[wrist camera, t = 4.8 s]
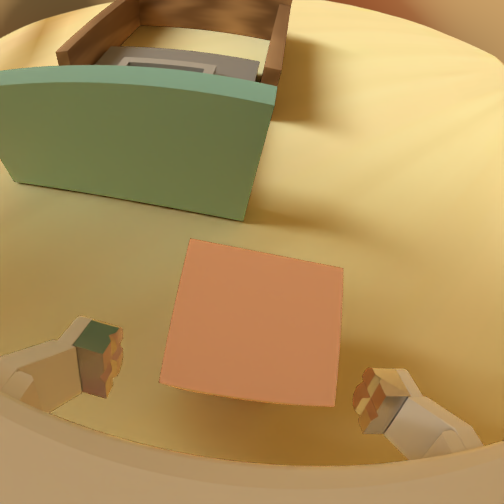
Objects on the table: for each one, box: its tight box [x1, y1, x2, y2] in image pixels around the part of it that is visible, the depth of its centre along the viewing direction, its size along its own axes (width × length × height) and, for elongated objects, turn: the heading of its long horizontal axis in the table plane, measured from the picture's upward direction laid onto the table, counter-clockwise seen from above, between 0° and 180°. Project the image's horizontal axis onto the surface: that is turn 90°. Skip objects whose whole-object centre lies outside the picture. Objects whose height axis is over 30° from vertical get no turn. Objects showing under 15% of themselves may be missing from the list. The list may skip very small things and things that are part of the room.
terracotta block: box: [159, 238, 343, 407], centre depth 12 cm, size 4×4×9 cm
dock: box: [56, 0, 292, 86], centre depth 24 cm, size 18×16×6 cm
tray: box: [0, 46, 277, 221], centre depth 19 cm, size 17×16×9 cm
